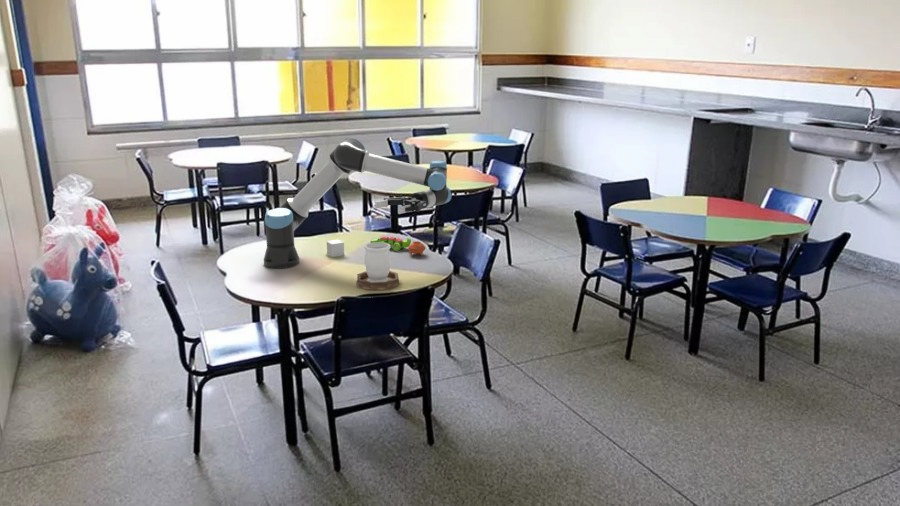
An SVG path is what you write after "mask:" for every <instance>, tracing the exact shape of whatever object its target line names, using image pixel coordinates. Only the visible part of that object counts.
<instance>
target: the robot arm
mask: <svg viewBox="0 0 900 506" xmlns="http://www.w3.org/2000/svg"><path fill="white" fill-rule="evenodd" d="M447 167H448V164H447V162H446V161H445V160H431V161H430V163H429V168H428V167H424V166H420V165H416V164H413V163H408V162H405V161H400V160H397V159H393V158H389V157H385V156H380V155H377V154H373V153H370V152H369V150H367V149H366V148H365V146H364V144H363V143H362V142H361V140H359V139H358V138H354V137H347V138H344V139H343V140H342V141H341V142H340V143H338V145H336V146H335V149H334V150H333V151H332V152H331V153H329V155H328V161H327V162H326V163H325V164H324V165H323V166H322V168H321V169H319V171H317V173H316V174H314V175H313V177H312V178H311V179H310V180H309V181H308V182H307V183H306V184H305V186H303V187H302V189H300V190H299V192H298V193H297V194H295V196H294V197H288V198H287V199H286V200H285V201H284V203H282V205H281V206H279V207H276V208H272V209H269V210H268V211H266V212H265V215H264V225H265V226H264V227H265V235H266V236H265V239H266V241H265V242H266V249H265V253H264V258H263V266H265V267H267V268H270V269H288V268H293V267H295V266H297V265H299V264H300V256H299V253H298V251H297V248H296V246H295V234H294V233H295V231H296V230H297V229H298V228H299V226H301V224H303V222H304V221H305V220H306V219H307V218H308V217H309V211H310V210H311V209H312V208H313V207H314V206H315V205H316V203H318V201H319V200H321V198H322V197H323V196H324V195H325V194H326V193H327V192H328V191H329V190H330V189H331V188H332V187H333V186H334V185H335V184H336V183H337V181H338V180H340V178H341V177H342V176H344V175H349V174H350V173H351V172H352V171H353V172H358V173H361V174H363V173H365V172H367V173H370V174H371V173H372V174H376V175H379V176H384V177H388V178H392V179H397V180H400V181H404V182H408V183H412V184H415V185H420V186H424V187H428V188H429V189H425V190H421V191H417V192H414V193H413V194H412V195H411V196H407V197H406V196H398V197H384V198H383V200H378V201H375V202H374V206H375V207H374V208H375V209H380V208H384V207H385V208H387V207H389V206H398V207H397V214H398V215H401V214H405V213H409V212H414V211H415V212H416V213H419V212H420V211H421V210H423V209H429V208H430V207H431V208H432V207H436V206H441V205H445V204H447V203H449V202H450V201H451V200H452V197H453V196H452V191H451V189H450V188H449V187H447V182H448V180H447V176H448V175H447V174H448V173H447V171H448V168H447Z"/></svg>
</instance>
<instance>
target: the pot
mask: <svg viewBox="0 0 900 506" xmlns="http://www.w3.org/2000/svg"><path fill="white" fill-rule="evenodd" d="M407 249H408V251H409V256H412V254H414V255H418V254H420V256H421V257H422V256H423V253H424V251H426V246H425V244H424V243H422V242H421V241H419V240H418V241H412V242H411V244H410V245H409V246H408V247H407Z"/></svg>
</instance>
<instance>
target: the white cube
mask: <svg viewBox="0 0 900 506" xmlns="http://www.w3.org/2000/svg"><path fill="white" fill-rule="evenodd" d="M326 254H328V256H330V257H339V256H340V257H341V256H345V242H344V241H343V240H341V239H332V240H326Z"/></svg>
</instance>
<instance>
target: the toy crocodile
mask: <svg viewBox="0 0 900 506" xmlns="http://www.w3.org/2000/svg"><path fill="white" fill-rule="evenodd" d="M374 242H383V243H388V244H390V248H392V250H394V251H396V252H398V251H400V250H401V249H403V248H404V249H406V248H408V247H409V245H410V244H412V239H411V237H409V236H407V237H406V240H405V239H404V240H403V239H402V238H399V237H394V236H390V237H389V236H380V237H379V238H373V239H372V240H371V241H370V243H374Z"/></svg>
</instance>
